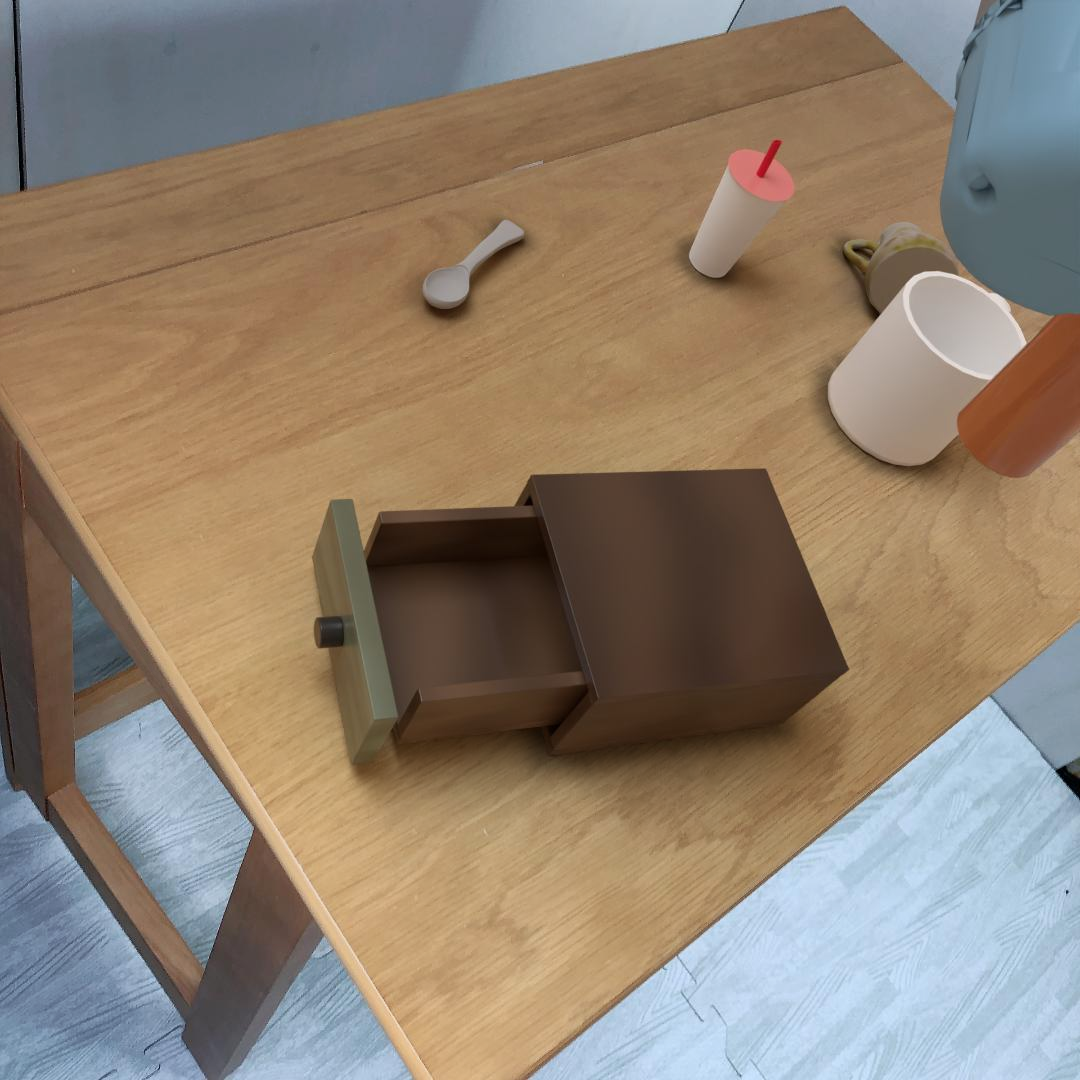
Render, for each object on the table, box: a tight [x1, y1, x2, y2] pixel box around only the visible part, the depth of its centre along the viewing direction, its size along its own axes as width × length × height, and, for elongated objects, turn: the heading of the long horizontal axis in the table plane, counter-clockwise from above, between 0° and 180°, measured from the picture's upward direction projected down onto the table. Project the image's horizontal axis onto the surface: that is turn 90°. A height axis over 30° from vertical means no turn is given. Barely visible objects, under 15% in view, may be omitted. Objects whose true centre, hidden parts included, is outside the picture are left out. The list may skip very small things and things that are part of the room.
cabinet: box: [513, 467, 850, 756], centre depth 67 cm, size 16×14×8 cm
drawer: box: [311, 498, 589, 766], centre depth 62 cm, size 16×12×6 cm
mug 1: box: [843, 221, 960, 316], centre depth 95 cm, size 8×10×10 cm
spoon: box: [422, 219, 525, 310], centre depth 82 cm, size 3×12×2 cm, turn 149°
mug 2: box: [827, 271, 1027, 467], centre depth 85 cm, size 13×10×10 cm
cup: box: [688, 139, 796, 279], centre depth 87 cm, size 5×5×12 cm
